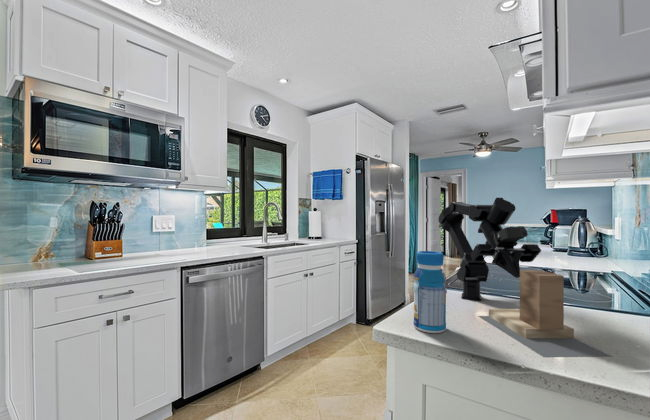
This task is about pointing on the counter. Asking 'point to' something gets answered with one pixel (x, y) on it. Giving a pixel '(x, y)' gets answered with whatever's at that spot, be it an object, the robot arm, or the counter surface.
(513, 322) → the birch board
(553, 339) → the rubber mat
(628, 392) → the counter surface
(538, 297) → the walnut block
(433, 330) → the beverage bottle
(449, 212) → the robot arm
